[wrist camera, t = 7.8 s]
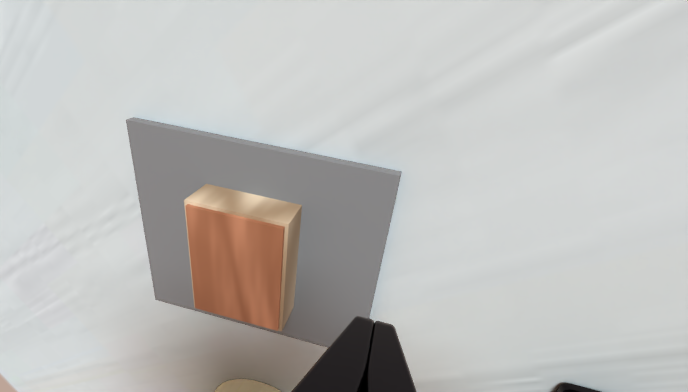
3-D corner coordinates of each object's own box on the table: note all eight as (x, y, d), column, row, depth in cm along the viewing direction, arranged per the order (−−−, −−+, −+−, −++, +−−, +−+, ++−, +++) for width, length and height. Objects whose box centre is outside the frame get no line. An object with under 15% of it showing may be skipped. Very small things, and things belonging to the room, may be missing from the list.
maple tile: (287, 226, 18) (181, 201, 19) (280, 334, 22) (192, 309, 23) (301, 205, 20) (206, 183, 21) (293, 306, 24) (212, 285, 25)
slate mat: (401, 171, 19) (400, 176, 18) (362, 349, 25) (360, 356, 25) (133, 117, 21) (126, 120, 20) (160, 294, 27) (155, 299, 27)
